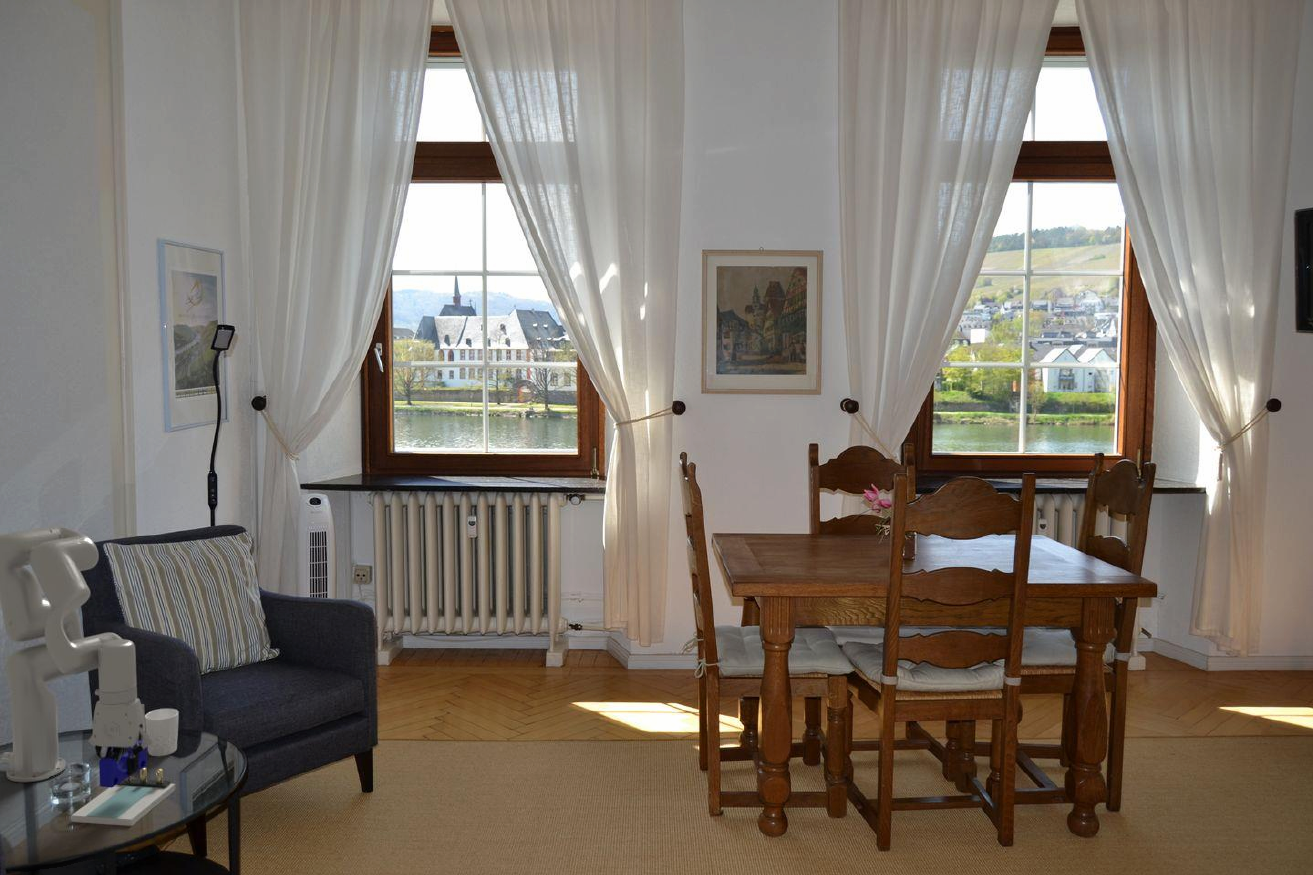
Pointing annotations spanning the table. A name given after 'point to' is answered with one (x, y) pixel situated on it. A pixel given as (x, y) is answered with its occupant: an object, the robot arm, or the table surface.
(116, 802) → the board
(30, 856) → the table surface
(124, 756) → the blue curved stepped piece
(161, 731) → the white cup
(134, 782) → the coat peg rack
